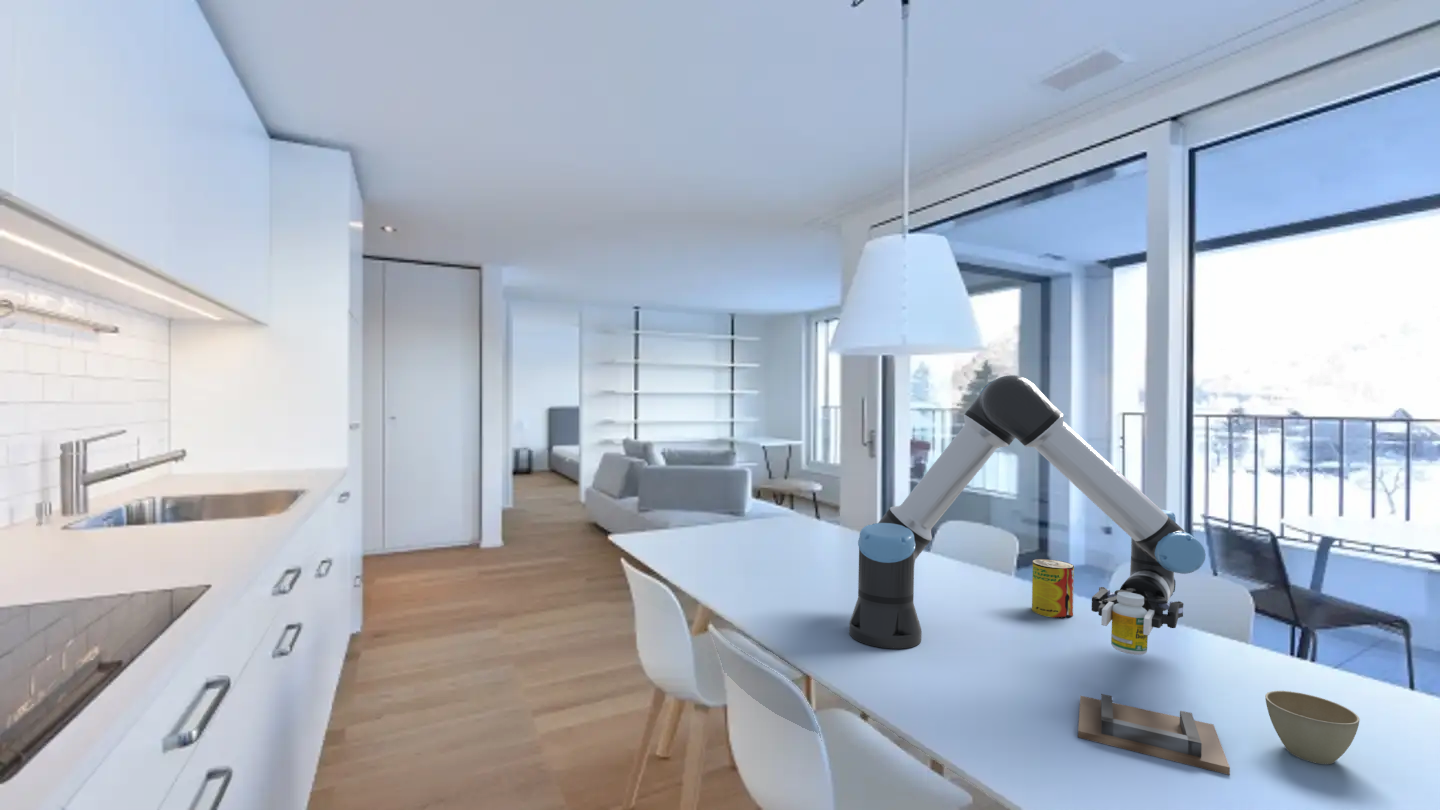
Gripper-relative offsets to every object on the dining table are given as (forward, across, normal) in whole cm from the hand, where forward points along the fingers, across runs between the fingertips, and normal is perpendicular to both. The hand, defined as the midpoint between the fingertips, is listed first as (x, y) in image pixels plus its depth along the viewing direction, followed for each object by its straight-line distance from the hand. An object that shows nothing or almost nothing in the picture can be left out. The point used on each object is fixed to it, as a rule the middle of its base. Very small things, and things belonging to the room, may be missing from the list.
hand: (1124, 622), depth 107 cm
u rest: (+9, -4, -14) cm, 17 cm away
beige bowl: (0, -23, -14) cm, 27 cm away
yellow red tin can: (-46, +22, -14) cm, 53 cm away
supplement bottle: (-5, 0, -6) cm, 8 cm away
